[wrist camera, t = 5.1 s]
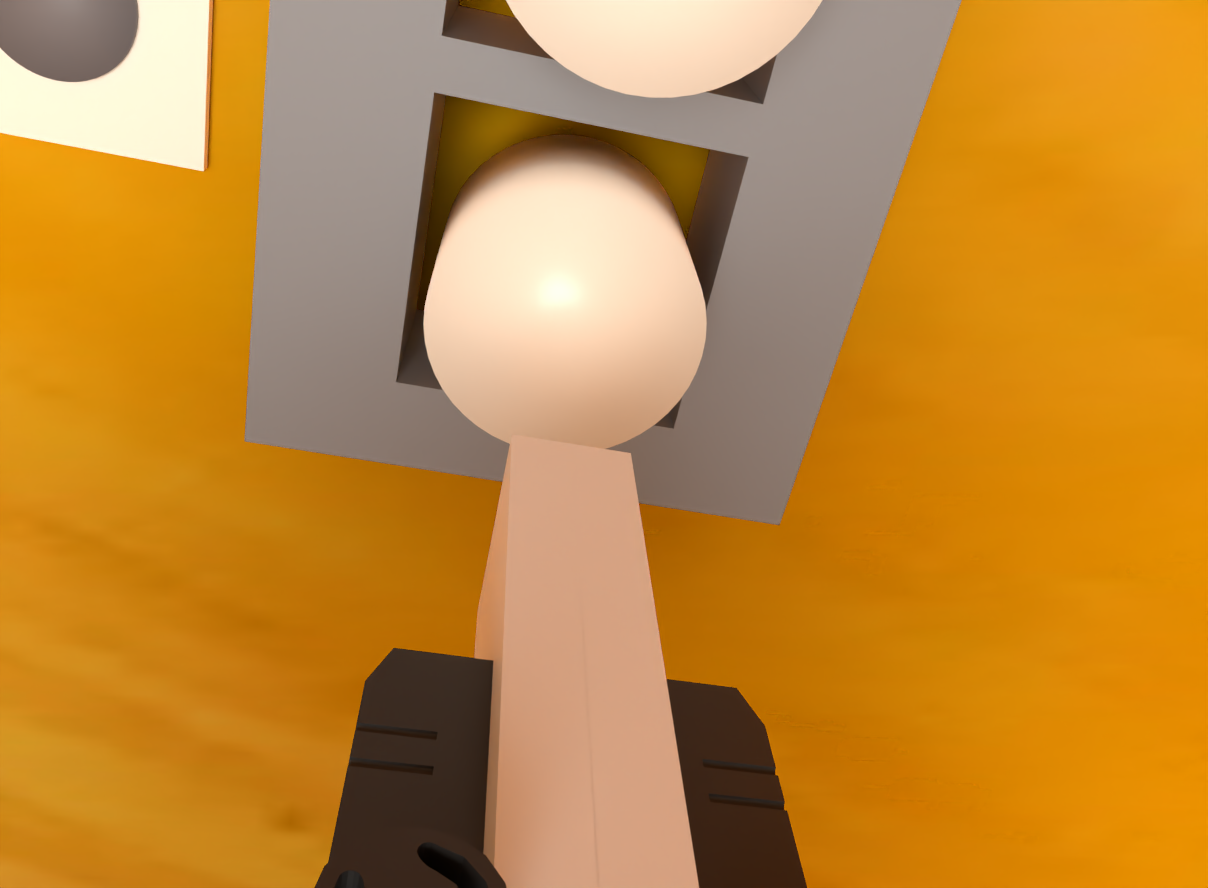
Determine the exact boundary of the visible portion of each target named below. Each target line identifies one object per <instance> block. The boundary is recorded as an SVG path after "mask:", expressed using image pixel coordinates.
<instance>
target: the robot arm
mask: <svg viewBox="0 0 1208 888" xmlns="http://www.w3.org/2000/svg"><path fill="white" fill-rule="evenodd" d="M775 768H776V767H775V763H774V759H773V755H772V752H771V748H770V744H769V740H768V736H767V732H766V729H765V726H764V724H763V723H762V722H761V720H760V719H759V718H758V716H757V715H756V714H755V712H754V711H753V710H752V708H751V707H750V706H749V704H748V703H747V702H746V700H745V699H744V698H743V696H742V695H741V694H740V692H739V691H738V690H737V688H732V687H724V686H716V685H708V684H700V683H692V682H685V681H677V680H669V679H666V674H665V667H664V661H663V655H662V648H661V642H660V635H659V629H658V623H657V616H656V610H655V604H654V597H653V591H652V585H651V578H650V572H649V565H648V559H647V553H646V546H645V540H644V534H643V527H642V521H641V515H640V508H639V502H638V495H637V489H636V483H635V476H634V470H633V464H632V457H631V453H627V452H621V451H614V450H608V449H602V448H595V447H589V446H583V445H576V444H570V443H564V442H557V441H551V440H545V439H538V438H532V437H526V436H519V435H513V434H512V436H511V441H510V446H509V451H508V456H507V462H506V467H505V472H504V477H503V482H502V487H501V493H500V498H499V503H498V508H497V513H496V519H495V524H494V529H493V534H492V539H491V544H490V550H489V555H488V560H487V565H486V570H485V575H484V581H483V586H482V591H481V596H480V601H479V606H478V614H477V627H476V640H475V653H474V658H469V657H461V656H453V655H446V654H438V653H430V652H422V651H414V650H406V649H398V648H393V650H392V651H391V652H390V653H389V654H388V655H387V656H386V658H385V659H384V660H383V661H382V662H381V663H380V665H379V666H378V667H377V668H376V669H375V670H374V672H373V673H372V674H371V675H370V676H369V677H368V678H367V680H366V681H365V685H364V690H363V695H362V700H361V705H360V710H359V715H358V720H357V725H356V731H355V734H354V739H353V744H352V749H351V754H350V759H349V765H348V768H347V773H346V778H345V783H344V788H343V793H342V798H341V803H340V808H339V812H338V817H337V822H336V827H335V832H334V837H333V842H332V847H331V852H330V856H329V861H328V864H326V865H325V866H324V868H323V871H322V873H321V875H320V877H319V879H318V882H317V884H316V886H315V888H807V886H806V882H805V878H804V874H803V870H802V867H801V863H800V859H799V855H798V851H797V847H796V844H795V840H794V836H793V832H792V828H791V824H790V821H789V817H788V813H787V811H785V810H784V802H785V801H784V798H783V794H782V790H781V786H780V782H779V778H778V776H776V775H775Z"/></svg>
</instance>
